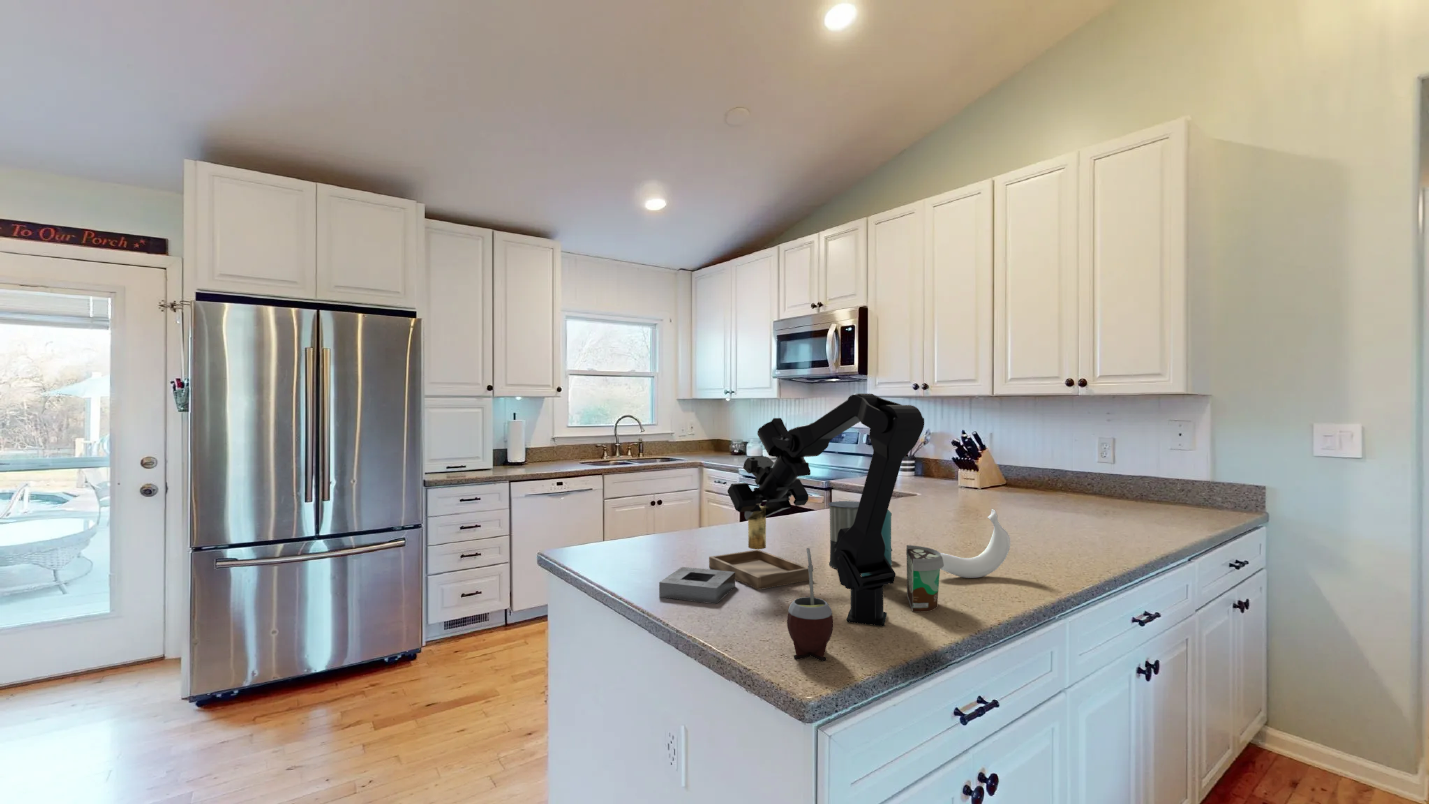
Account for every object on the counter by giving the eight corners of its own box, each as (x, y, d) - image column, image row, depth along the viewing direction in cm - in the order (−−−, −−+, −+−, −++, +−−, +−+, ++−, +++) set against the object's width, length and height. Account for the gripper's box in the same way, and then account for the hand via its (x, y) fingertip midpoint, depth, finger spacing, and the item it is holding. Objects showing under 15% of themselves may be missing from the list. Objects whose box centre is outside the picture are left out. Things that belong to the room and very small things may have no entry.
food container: (949, 616, 110) (949, 561, 110) (913, 614, 111) (913, 559, 111) (938, 595, 122) (938, 545, 122) (906, 593, 123) (906, 544, 123)
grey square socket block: (716, 603, 117) (716, 588, 117) (659, 597, 121) (659, 582, 121) (735, 586, 128) (735, 571, 128) (682, 580, 132) (682, 566, 132)
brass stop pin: (756, 550, 135) (756, 509, 135) (744, 546, 138) (744, 507, 138) (769, 547, 138) (769, 507, 138) (757, 544, 141) (757, 505, 141)
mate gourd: (810, 668, 89) (810, 564, 89) (773, 650, 95) (773, 554, 95) (845, 655, 93) (845, 557, 93) (808, 639, 99) (808, 547, 99)
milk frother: (824, 569, 142) (824, 505, 142) (835, 553, 157) (835, 495, 157) (888, 575, 137) (888, 509, 137) (893, 558, 152) (893, 498, 152)
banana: (924, 576, 136) (924, 510, 136) (1001, 571, 140) (1001, 507, 140) (936, 582, 131) (936, 514, 131) (1015, 577, 135) (1015, 511, 135)
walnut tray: (810, 579, 133) (810, 568, 133) (757, 589, 126) (757, 577, 126) (758, 559, 150) (758, 549, 150) (709, 567, 143) (709, 556, 143)
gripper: (800, 443, 140) (771, 486, 149) (731, 446, 130) (705, 492, 139) (823, 481, 133) (792, 524, 142) (753, 487, 123) (724, 532, 133)
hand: (753, 517), depth 139 cm, fingers closed on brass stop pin, 4 cm apart
